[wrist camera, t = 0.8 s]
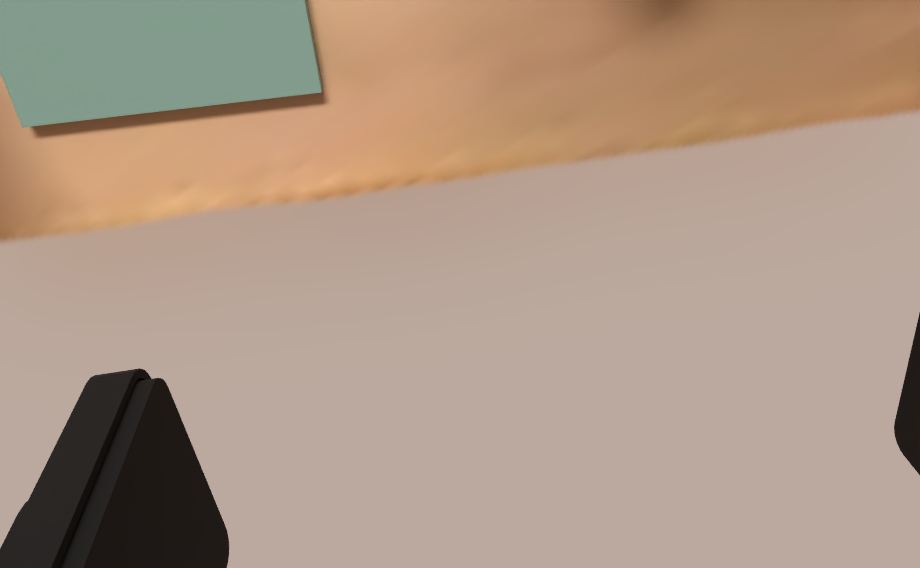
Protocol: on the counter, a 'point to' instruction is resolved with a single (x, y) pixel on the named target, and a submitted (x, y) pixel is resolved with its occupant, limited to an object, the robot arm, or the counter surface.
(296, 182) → the counter surface
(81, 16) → the green mat
